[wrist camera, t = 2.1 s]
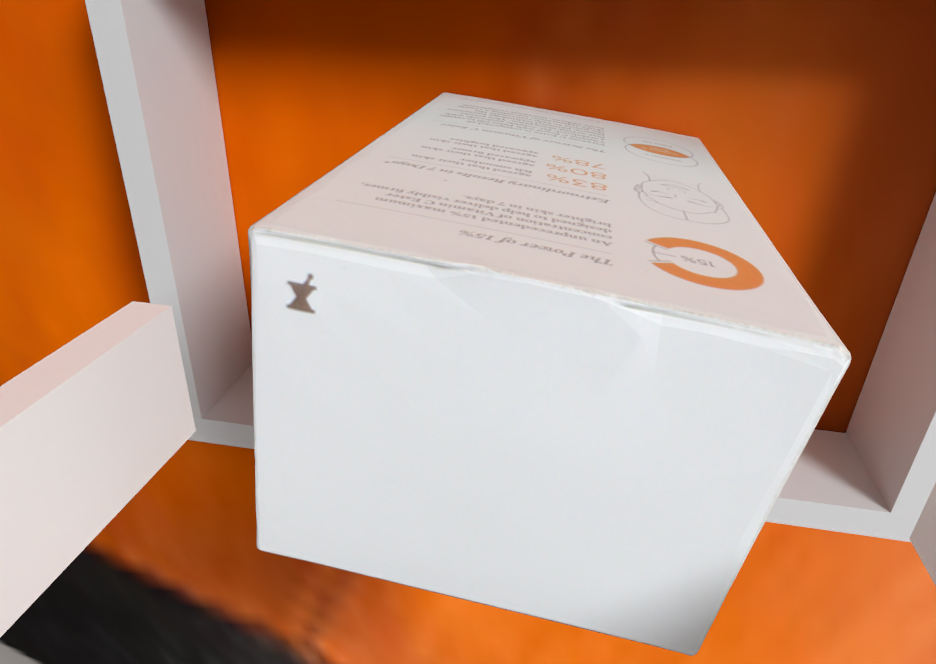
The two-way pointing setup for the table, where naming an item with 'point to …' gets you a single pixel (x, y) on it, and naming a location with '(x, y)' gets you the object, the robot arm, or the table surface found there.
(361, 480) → the small box
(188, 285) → the bin
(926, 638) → the table surface
